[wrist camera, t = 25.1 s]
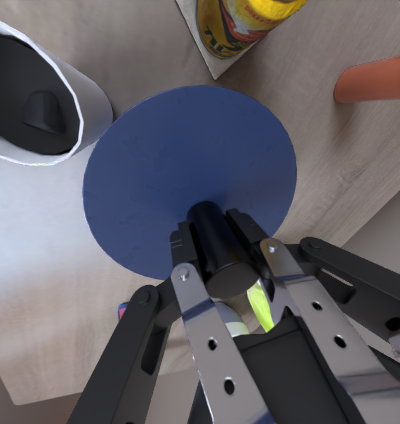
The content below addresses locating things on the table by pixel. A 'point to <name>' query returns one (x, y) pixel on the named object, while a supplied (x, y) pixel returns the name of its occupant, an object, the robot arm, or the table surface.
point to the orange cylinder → (370, 82)
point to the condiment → (232, 26)
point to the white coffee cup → (45, 104)
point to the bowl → (231, 320)
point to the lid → (189, 183)
